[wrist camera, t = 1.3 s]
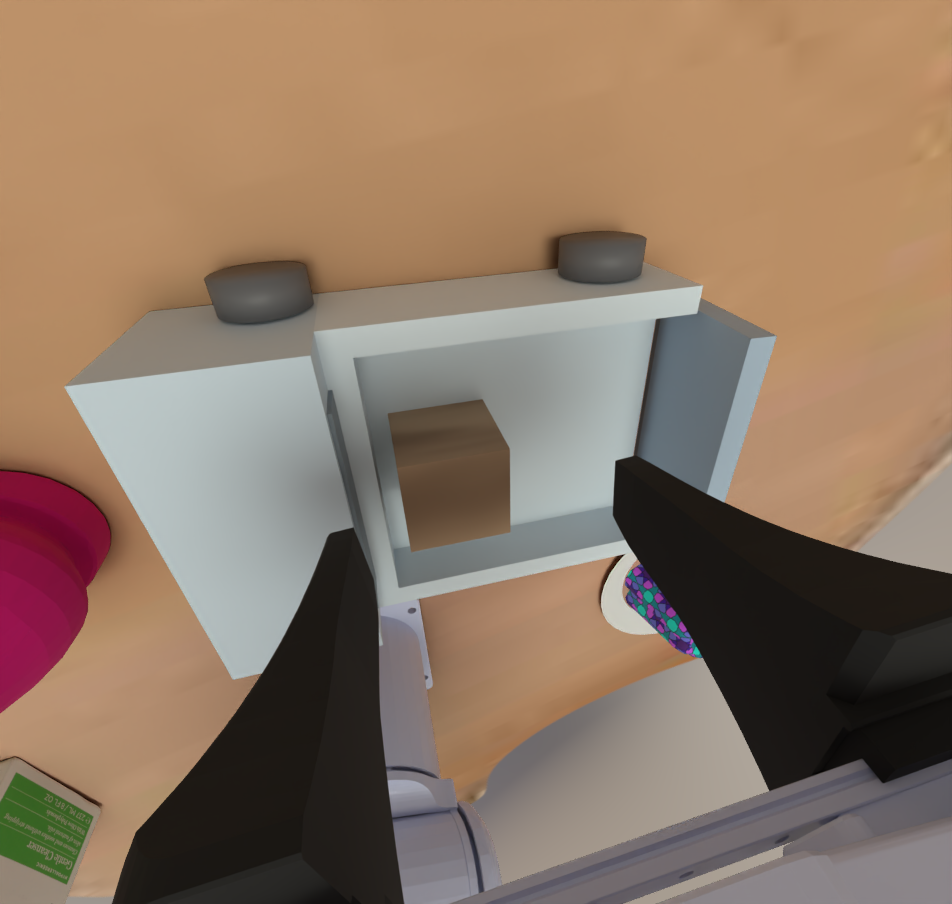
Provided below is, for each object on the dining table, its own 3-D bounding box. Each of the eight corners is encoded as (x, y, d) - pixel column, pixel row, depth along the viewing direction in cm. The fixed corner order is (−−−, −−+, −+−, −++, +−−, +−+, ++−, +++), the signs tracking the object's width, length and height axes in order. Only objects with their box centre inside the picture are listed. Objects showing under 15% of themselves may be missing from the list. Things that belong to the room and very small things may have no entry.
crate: (485, 475, 22) (510, 532, 19) (400, 490, 22) (411, 552, 18) (482, 399, 20) (509, 448, 17) (387, 413, 19) (397, 468, 16)
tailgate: (682, 281, 20) (658, 283, 20) (785, 329, 15) (752, 332, 15) (643, 491, 27) (624, 493, 27) (705, 575, 22) (682, 578, 21)
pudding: (680, 634, 39) (722, 695, 34) (564, 615, 34) (597, 684, 29) (784, 524, 34) (848, 579, 30) (667, 483, 29) (724, 542, 25)
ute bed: (603, 512, 28) (664, 597, 23) (263, 580, 25) (243, 697, 20) (642, 226, 20) (753, 257, 15) (133, 274, 17) (35, 336, 11)
